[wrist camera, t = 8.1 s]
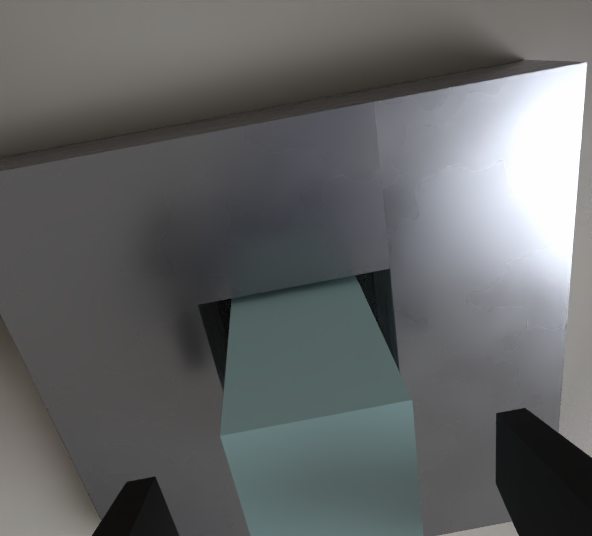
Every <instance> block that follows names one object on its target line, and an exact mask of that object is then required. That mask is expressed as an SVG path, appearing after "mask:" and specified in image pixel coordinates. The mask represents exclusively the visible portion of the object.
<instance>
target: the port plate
mask: <svg viewBox="0 0 592 536" xmlns="http://www.w3.org/2000/svg"><path fill="white" fill-rule="evenodd" d="M586 70H587V62H569V61H542V60H524V61H518V62H513V63H508V64H502V65H497V66H492V67H486V68H481V69H476V70H470V71H465V72H459V73H454V74H449V75H443V76H438V77H433V78H427V79H422V80H416V81H411V82H406V83H400V84H395V85H390V86H384V87H379V88H373V89H368V90H363V91H357V92H352V93H347V94H341V95H336V96H331V97H325V98H320V99H314V100H309V101H304V102H298V103H293V104H288V105H282V106H277V107H271V108H266V109H261V110H255V111H250V112H245V113H239V114H234V115H228V116H223V117H218V118H212V119H207V120H202V121H196V122H191V123H186V124H180V125H175V126H169V127H164V128H159V129H153V130H148V131H143V132H137V133H132V134H126V135H121V136H116V137H110V138H105V139H100V140H94V141H89V142H83V143H78V144H73V145H67V146H62V147H57V148H51V149H46V150H41V151H35V152H30V153H24V154H19V155H14V156H8V157H3V158H0V315H1V317H2V319H3V321H4V323H5V325H6V327H7V329H8V331H9V333H10V335H11V337H12V339H13V341H14V343H15V345H16V347H17V349H18V351H19V353H20V355H21V357H22V360H23V362H24V364H25V366H26V368H27V370H28V372H29V374H30V376H31V378H32V380H33V382H34V384H35V386H36V388H37V390H38V392H39V394H40V396H41V398H42V400H43V402H44V404H45V406H46V408H47V410H48V413H49V415H50V417H51V419H52V421H53V423H54V425H55V427H56V429H57V431H58V433H59V435H60V437H61V439H62V441H63V443H64V445H65V447H66V449H67V451H68V453H69V455H70V457H71V459H72V461H73V463H74V465H75V468H76V470H77V472H78V474H79V476H80V478H81V480H82V482H83V484H84V486H85V488H86V490H87V492H88V494H89V496H90V498H91V500H92V502H93V504H94V506H95V508H96V510H97V512H98V514H99V516H100V518H101V520H102V519H103V517H104V516H105V514H106V513H107V511H108V510H109V508H110V506H111V505H112V503H113V502H114V500H115V499H116V497H117V495H118V494H119V492H120V491H121V489H122V488H123V486H124V485H125V484H126V482H128V481H133V480H139V479H144V478H149V477H155V476H156V479H157V481H158V484H159V486H160V489H161V491H162V494H163V496H164V499H165V501H166V504H167V506H168V509H169V511H170V514H171V516H172V519H173V521H174V524H175V526H176V529H177V531H178V534H179V536H250V533H249V529H248V526H247V523H246V520H245V516H244V513H243V510H242V506H241V503H240V500H239V497H238V493H237V490H236V487H235V483H234V480H233V477H232V474H231V470H230V467H229V464H228V460H227V457H226V454H225V450H224V447H223V444H222V441H221V437H220V431H221V420H222V408H223V396H224V384H225V372H226V360H227V349H228V342H227V338H226V334H225V330H224V327H223V323H222V319H221V316H220V312H219V308H218V305H217V301H220V300H226V299H231V298H236V297H242V296H247V295H252V294H258V293H263V292H268V291H274V290H279V289H284V288H290V287H295V286H300V285H306V284H311V283H316V282H322V281H327V280H332V279H338V278H343V277H348V276H354V275H359V274H364V273H370V272H372V273H373V282H374V291H375V300H376V308H377V317H378V326H379V328H380V330H381V333H382V335H383V337H384V339H385V341H386V344H387V346H388V348H389V350H390V352H391V355H392V357H393V359H394V361H395V363H396V365H397V368H398V370H399V372H400V374H401V376H402V379H403V381H404V383H405V385H406V387H407V390H408V392H409V394H410V396H411V398H412V403H413V415H414V427H415V439H416V451H417V464H418V476H419V488H420V500H421V513H422V525H423V536H437V535H442V534H448V533H453V532H458V531H463V530H469V529H474V528H479V527H484V526H490V525H495V524H500V523H505V522H511V521H512V519H511V517H510V515H509V513H508V511H507V508H506V506H505V504H504V502H503V499H502V497H501V495H500V492H499V490H498V488H497V485H496V413H499V412H505V411H510V410H516V409H521V408H526V409H527V410H529V411H530V412H532V413H533V414H534V415H536V416H537V417H538V418H540V419H541V420H542V421H544V422H545V423H546V424H547V425H549V426H550V427H551V428H553V429H554V430H555V431H557V432H558V430H559V417H560V404H561V391H562V378H563V366H564V353H565V340H566V327H567V314H568V301H569V289H570V276H571V263H572V250H573V237H574V224H575V212H576V199H577V186H578V173H579V160H580V147H581V135H582V122H583V109H584V96H585V83H586Z"/></svg>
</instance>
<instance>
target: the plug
mask: <svg viewBox="0 0 592 536" xmlns="http://www.w3.org/2000/svg"><path fill="white" fill-rule="evenodd" d="M220 437H221V441H222V444H223V447H224V450H225V454H226V457H227V460H228V464H229V467H230V470H231V474H232V477H233V480H234V483H235V487H236V490H237V493H238V497H239V500H240V503H241V506H242V510H243V513H244V516H245V520H246V523H247V526H248V529H249V533H250V536H423V525H422V513H421V500H420V488H419V476H418V464H417V451H416V439H415V427H414V415H413V403H412V398H411V396H410V394H409V392H408V390H407V387H406V385H405V383H404V381H403V379H402V376H401V374H400V372H399V370H398V368H397V365H396V363H395V361H394V359H393V357H392V355H391V352H390V350H389V348H388V346H387V344H386V341H385V339H384V337H383V335H382V333H381V330H380V328H379V326H378V324H377V322H376V319H375V317H374V315H373V313H372V311H371V309H370V306H369V304H368V302H367V300H366V298H365V295H364V293H363V291H362V289H361V287H360V284H359V282H358V280H357V278H356V276H355V275H354V276H348V277H343V278H338V279H332V280H327V281H322V282H316V283H311V284H306V285H300V286H295V287H290V288H284V289H279V290H274V291H268V292H263V293H258V294H252V295H247V296H242V297H236V298H232V301H231V313H230V325H229V337H228V349H227V360H226V372H225V384H224V396H223V408H222V420H221V431H220Z"/></svg>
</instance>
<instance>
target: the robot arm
mask: <svg viewBox="0 0 592 536" xmlns="http://www.w3.org/2000/svg"><path fill="white" fill-rule="evenodd" d="M496 485H497V488H498V490H499V492H500V495H501V497H502V499H503V502H504V504H505V506H506V508H507V511H508V513H509V515H510V517H511V519H512V522H513V524H514V526H515V528H516V530H517V533H518V534H519V536H592V458H591V457H590V456H589V455H587V454H586V453H585V452H583V451H582V450H581V449H579V448H578V447H577V446H575V445H574V444H573V443H571V442H570V441H569V440H567V439H566V438H565V437H563V436H562V435H561V434H559V433H558V432H557V431H555V430H554V429H553V428H551V427H550V426H549V425H547V424H546V423H545V422H544V421H542V420H541V419H540V418H538V417H537V416H536V415H534V414H533V413H532V412H530V411H529V410H527V409H526V408H521V409H516V410H510V411H505V412H499V413H496ZM92 536H179V534H178V531H177V529H176V526H175V524H174V521H173V519H172V516H171V514H170V511H169V509H168V506H167V504H166V501H165V499H164V496H163V494H162V491H161V489H160V486H159V484H158V481H157V479H156V476H155V477H149V478H144V479H139V480H133V481H128V482H126V484H125V485H124V486H123V488H122V489H121V491H120V492H119V494H118V495H117V497H116V499H115V500H114V502H113V503H112V505H111V506H110V508H109V510H108V511H107V513H106V514H105V516H104V517H103V519H102V521H101V522H100V524H99V525H98V527H97V528H96V530H95V532H94V533H93V535H92Z"/></svg>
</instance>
